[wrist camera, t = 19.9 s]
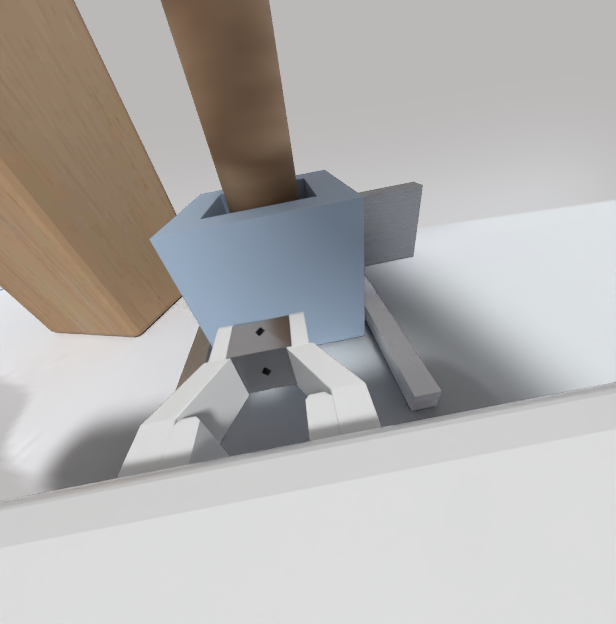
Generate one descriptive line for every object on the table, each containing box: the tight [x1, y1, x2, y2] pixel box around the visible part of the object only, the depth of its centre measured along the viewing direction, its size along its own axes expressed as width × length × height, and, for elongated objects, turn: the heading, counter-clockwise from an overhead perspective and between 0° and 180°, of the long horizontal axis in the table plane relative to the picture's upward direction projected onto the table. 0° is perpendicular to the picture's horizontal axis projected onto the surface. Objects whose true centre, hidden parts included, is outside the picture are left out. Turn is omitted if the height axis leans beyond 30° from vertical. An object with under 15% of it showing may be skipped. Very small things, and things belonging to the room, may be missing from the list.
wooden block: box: [0, 0, 182, 337], centre depth 17 cm, size 10×10×20 cm
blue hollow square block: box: [149, 170, 365, 348], centre depth 16 cm, size 9×9×8 cm
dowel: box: [161, 0, 299, 213], centre depth 12 cm, size 4×4×16 cm
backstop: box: [176, 182, 442, 411], centre depth 15 cm, size 20×16×6 cm
